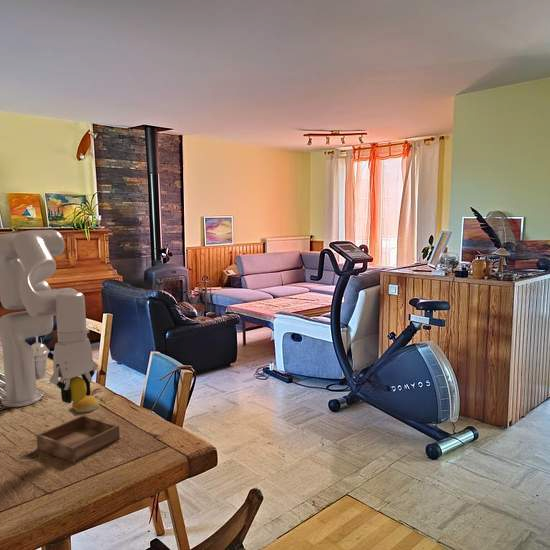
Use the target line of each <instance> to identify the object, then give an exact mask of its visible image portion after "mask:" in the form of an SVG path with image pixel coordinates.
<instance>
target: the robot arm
mask: <svg viewBox="0 0 550 550" xmlns="http://www.w3.org/2000/svg"><path fill="white" fill-rule="evenodd" d="M65 246H66V243H65V239H64V237H63V235H62V233H60V232H59V231H57V230H55V229H38V230H37V229H35V230H34V229H32V230H25V231H24V230H23V231H21V232H20V231H19V232H10V233H9V232H7V233H1V234H0V303H1V305H2V307H3V308H4V309H6V310H21V309H25V310H24V311H18V312H16V311H15V312H10V313H7V314H4V315H2V316H0V342H1V350H2V358H3V371H4V383H5V385H4V386H5V388H4V387H3V389H2V391H3V392H4V393H5V397H3V398H2V399H1V405H2V406H4V407H7V408H19V407H24V406H29V405H32V404H35V403H37V402H39V401H40V400H41V399H42V398H43V394H42V392H40V391H37V378H36V375H35V361H34V351H33V349H32V347H31V345H30V344H29V343H28V342H26V340H28V339H31V338H36V337H37V336H38V337H43V336H46V335H49V334H51V333H52V332H53V329H54V316H55V317H56V318H55V319H56V331H57V342H55V343H54V348H53V349H54V350H53V357H52V358H53V360H52V361H53V363H52V364H53V366H52V367H53V369H52V370H53V373H52V375H51V377H50V378H49V382H50V383H51V384H53V385H55V386H56V387H58V388H59V389H60V393H61V402H63V403H66V404H71V403H72V401H71V390H70V389H68V388H69V384H70V380H71V378H74V377H77V376H78V377H81V378H83V379H84V381H85V383H86V387H87V392H86V395H87V396H89V395H91V381H92V380H93V379H92V378H93V376H94V374H95V372H96V371H97V369H98V367H99V364H98V363H97V362H96V361H95V360H94V358H93V356H94V355H93V352H92V346H91V342H90V339H89V337H88V334H89V333H90V329H89V328H87V317H86V316H87V315H86V314H87V313H86V300H85V295H84V293H82V292H80V291H77V290H76V289H74V288H73V287H64V288H63V287H62V288H54V289H53V288H51V286H50V284H49V283H48V282H47V281H46V280H47V279H48V278H50V277H51V276H52V275H53V274H55V272H56V269H57V262H56V260H55V259H54V257H59V256H60V255H62V254H63V253H64V251H65Z"/></svg>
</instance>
